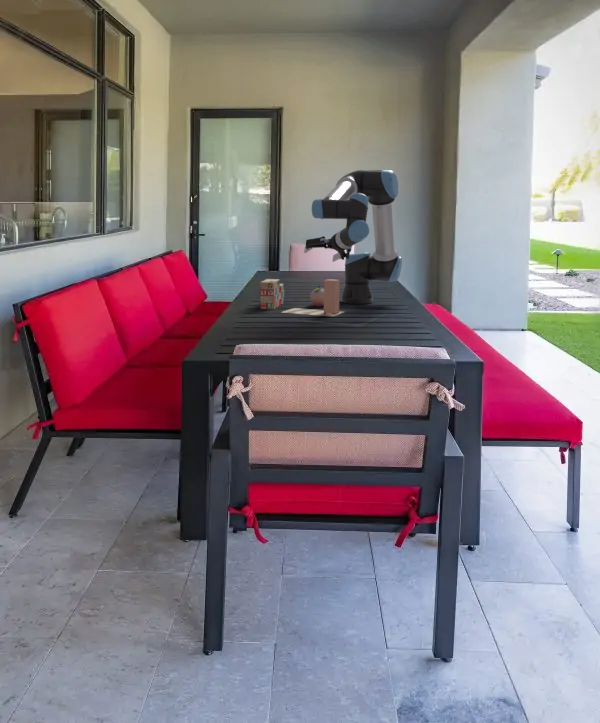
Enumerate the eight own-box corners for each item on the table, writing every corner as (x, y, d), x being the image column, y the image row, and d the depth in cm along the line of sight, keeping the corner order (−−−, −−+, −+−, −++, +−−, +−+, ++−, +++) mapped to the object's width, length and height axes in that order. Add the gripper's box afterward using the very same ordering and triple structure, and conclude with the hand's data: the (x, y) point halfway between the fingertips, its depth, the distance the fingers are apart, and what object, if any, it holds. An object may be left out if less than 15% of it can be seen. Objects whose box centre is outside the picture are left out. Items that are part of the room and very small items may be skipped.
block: (338, 312, 324) (339, 279, 321) (334, 314, 320) (335, 280, 317) (327, 311, 326) (328, 279, 323) (323, 313, 322) (324, 280, 319)
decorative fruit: (326, 309, 339) (327, 287, 337) (308, 309, 340) (308, 286, 338) (330, 306, 348) (330, 284, 346) (312, 306, 349) (312, 284, 347)
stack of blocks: (271, 302, 360) (271, 276, 357) (284, 303, 359) (284, 277, 356) (260, 309, 339) (260, 281, 337) (273, 309, 338) (273, 282, 336)
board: (345, 314, 327) (345, 311, 327) (333, 318, 315) (333, 316, 314) (294, 310, 336) (294, 308, 336) (280, 314, 324) (280, 312, 324)
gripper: (313, 240, 300) (291, 254, 319) (368, 257, 309) (343, 270, 328) (316, 222, 301) (294, 237, 320) (371, 240, 311) (346, 254, 330)
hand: (319, 254), depth 325 cm, fingers open, 13 cm apart
